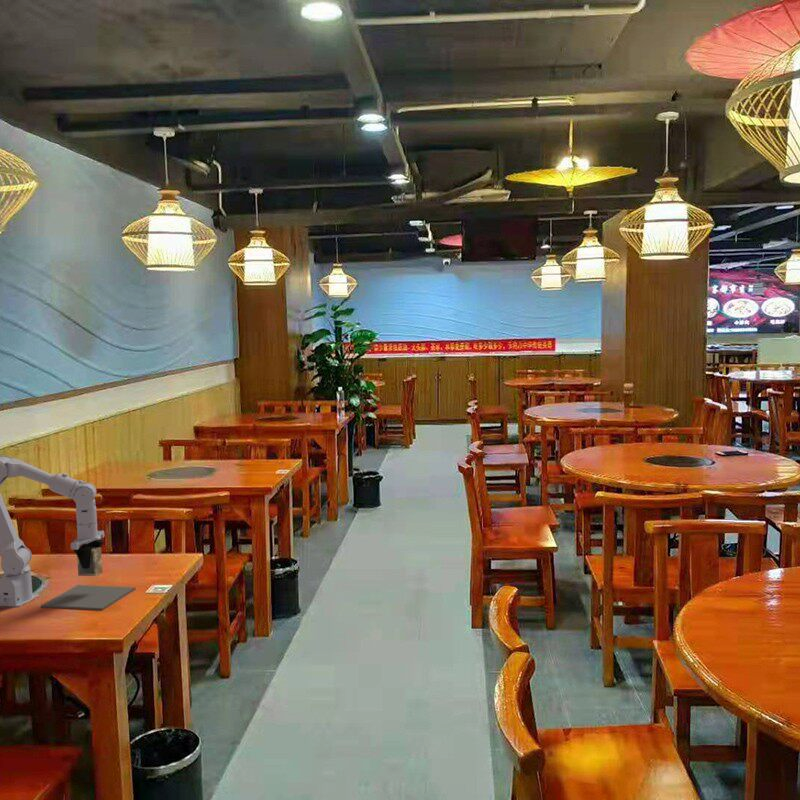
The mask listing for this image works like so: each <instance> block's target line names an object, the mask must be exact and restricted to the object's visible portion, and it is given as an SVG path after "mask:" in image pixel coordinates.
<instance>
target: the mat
mask: <svg viewBox="0 0 800 800" xmlns="http://www.w3.org/2000/svg"><path fill="white" fill-rule="evenodd" d="M135 590H136V587H135V586H132V587H131V586H115V585H114V586H113V585H111V586H110V585H108V586H107V585H89V584H87V585H86V584H85V585H84V584H83V585H82V584H76V586H73V587H71V588H70V589H68V590H66V591H65V592H63V593H61V594H59V595H57V596H55V597H53V598H51V599H50V600H48V601H45V603H43V604H40V607H41V608H49V609H67V610H68V609H69V610H71V609H74V610H89V611H90V610H91V611H94V610H95V611H104V610H105V609H106V608H108V607H110V606H112V605H113V604H114V603H116V602H118V601H119V600H121V599H122V598H124V597H126V596H127V595H129V594H130V593H133V591H135Z"/></svg>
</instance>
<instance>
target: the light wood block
mask: <svg viewBox="0 0 800 800" xmlns="http://www.w3.org/2000/svg"><path fill="white" fill-rule="evenodd" d="M76 561H77V572H78V576H79V577H97V576H99V575H101V574H103V572H104V570H103V557H102V547H93V548H92V550H91V555H90V567H89V568H88V569H83V568H82V566H81V563H80V561H79V558H78V556H77V555H76Z"/></svg>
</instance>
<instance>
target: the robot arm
mask: <svg viewBox="0 0 800 800" xmlns="http://www.w3.org/2000/svg"><path fill="white" fill-rule="evenodd" d="M17 477H24V478H26V479H29V480H32V481H35V482H38V483H41V484H44V485H47V486H48V488H49V490H50V491H51V492H53V493H55V494H58V495H61V496H63V497H66V498H69V499H72V500H73V501H74V503H75V507H76V508H75V514H76V530H77V532H76V533H77V538H76V539H75V540H74V541H72V542H71V543H70V550H72V551H73V552H74V554H75V555H76V557H77V556H78V558H79V561H80V563H81V566H82V568H83V569H88V568H89V567H90V555H91V550H92V548H93V547H101V548H102V547H103V545H104V542H105V540H104V539H102V538H104V537H105V531H104V530H98V519H97V517H98V516H97V506H96V504H97V503H96V499H95V497H96V496H97V492H98V491H97V488H96V486H95V485H94V484H92V483H91V482H89V481H84V480H82V479H79V480H78V479H75V478H72V477H70V476H69V474H68V473H65V472H63V473H56V474H53V473H52V474H51V473H50V472H47V471H45V470H43V469H40V468H39V467H36V466H34V465H31V464H29V463H27V462H25V461H22V460H21V459H18V458H15V457H11V456H8V455H0V488H2V486H3V484H4V483H5V481H6V479H7V478H8V479H12V478H17ZM4 501H5V500H4V499H3V497H2V494H1V493H0V559H1V560H0V561H1V562H0V567H1V570H2V571H3V576H2V578H0V607H11V608H12V607H13V608H15V607H18V608H19V607H21V606H23V605H25V604H27V603H28V602H30V601H33V600H35V599H36V598H38V597H40V595H39V594H37V593H35V594H34V593H33V584H32V582H33V581H32V571H31V570H32V569H31V566H30V565H29V564H30V562H31V560H32V557H33V556H32V551H31V550H30V548H28V547H26V545H25V543H24V541H23V540H22V539H21V538H20V537H19V536H18V533H17V531H16V529H15V526H14V523H13V522H12V519H11V516H10V513H9V512H8V509H7V505H6V504H5V502H4Z"/></svg>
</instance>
